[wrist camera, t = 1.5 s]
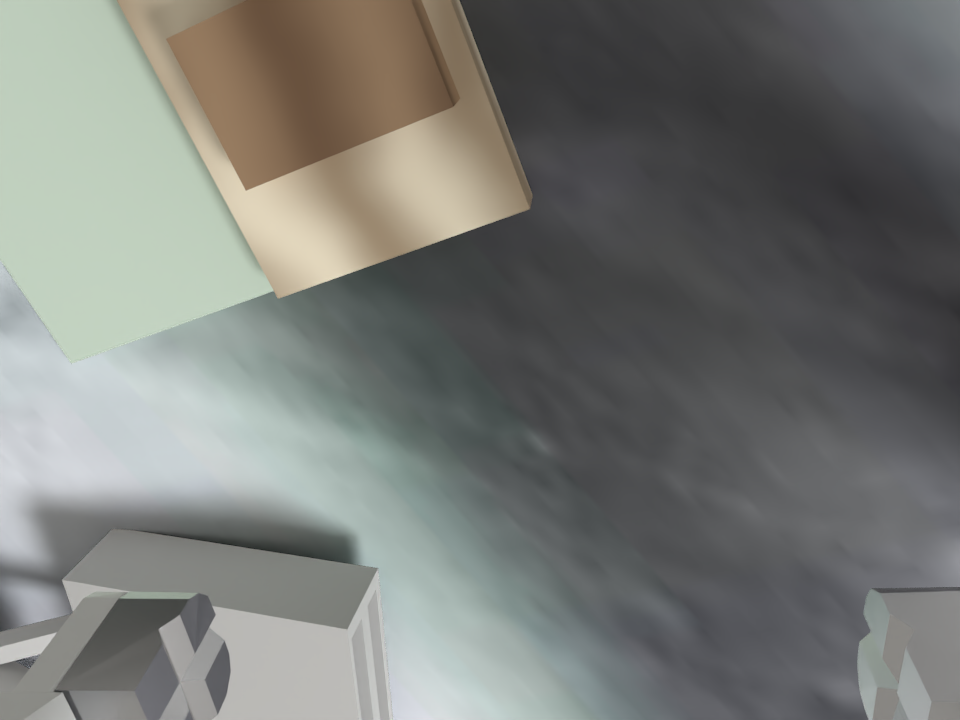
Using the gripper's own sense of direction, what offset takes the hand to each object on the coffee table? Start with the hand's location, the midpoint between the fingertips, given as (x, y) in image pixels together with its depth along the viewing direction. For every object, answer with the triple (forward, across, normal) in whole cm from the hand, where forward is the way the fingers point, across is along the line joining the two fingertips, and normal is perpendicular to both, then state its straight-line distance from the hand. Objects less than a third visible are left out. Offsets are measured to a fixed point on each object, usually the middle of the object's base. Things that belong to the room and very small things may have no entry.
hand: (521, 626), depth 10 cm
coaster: (+24, +9, -4) cm, 26 cm away
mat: (+26, +21, -1) cm, 34 cm away
